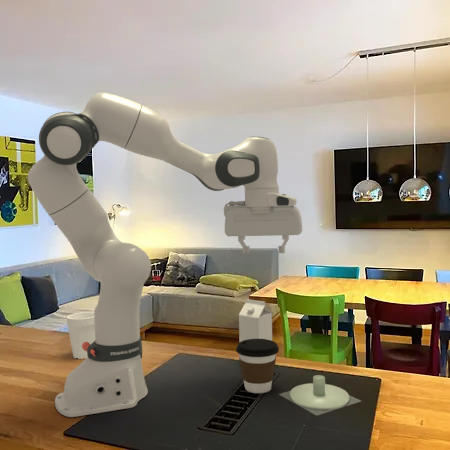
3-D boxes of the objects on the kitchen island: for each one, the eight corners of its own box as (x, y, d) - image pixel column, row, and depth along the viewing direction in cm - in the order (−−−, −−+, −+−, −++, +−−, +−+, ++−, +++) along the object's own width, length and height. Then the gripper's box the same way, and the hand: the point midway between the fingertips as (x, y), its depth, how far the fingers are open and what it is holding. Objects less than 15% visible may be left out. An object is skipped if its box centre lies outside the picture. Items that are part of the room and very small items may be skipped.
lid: (316, 415, 104) (316, 393, 104) (278, 394, 116) (278, 374, 116) (361, 401, 111) (361, 380, 111) (321, 382, 123) (321, 363, 123)
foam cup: (104, 353, 152) (103, 314, 152) (82, 362, 145) (80, 320, 144) (84, 349, 158) (83, 311, 157) (62, 357, 150) (60, 317, 149)
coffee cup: (230, 396, 117) (229, 348, 116) (244, 380, 127) (243, 336, 127) (273, 401, 113) (272, 352, 113) (283, 384, 123) (283, 339, 123)
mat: (316, 418, 104) (316, 415, 104) (278, 396, 116) (278, 394, 116) (361, 403, 111) (361, 401, 111) (321, 384, 123) (321, 382, 123)
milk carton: (253, 357, 145) (252, 297, 145) (272, 362, 141) (271, 299, 140) (239, 364, 140) (238, 301, 139) (259, 369, 135) (258, 304, 135)
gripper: (220, 201, 122) (222, 254, 123) (299, 198, 116) (301, 254, 117) (226, 201, 128) (228, 251, 129) (302, 198, 122) (303, 251, 123)
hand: (263, 253), depth 123 cm, fingers open, 8 cm apart
